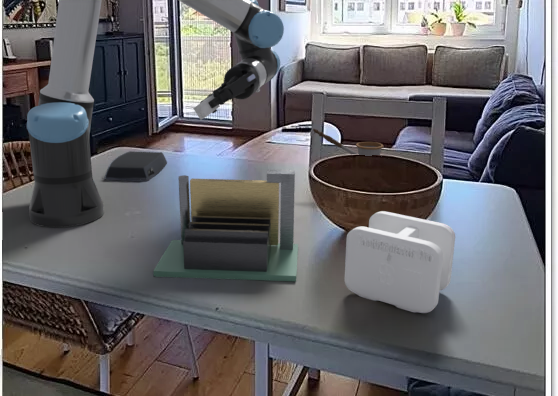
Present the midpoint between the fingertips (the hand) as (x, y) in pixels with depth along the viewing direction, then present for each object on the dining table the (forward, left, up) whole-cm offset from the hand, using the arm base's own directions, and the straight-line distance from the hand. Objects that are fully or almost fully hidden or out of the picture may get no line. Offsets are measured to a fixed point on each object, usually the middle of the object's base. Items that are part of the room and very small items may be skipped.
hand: (199, 112), depth 117 cm
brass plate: (+5, -14, -22) cm, 27 cm away
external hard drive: (-14, +46, -24) cm, 54 cm away
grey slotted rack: (+4, -19, -24) cm, 31 cm away
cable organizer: (+28, -37, -24) cm, 52 cm away
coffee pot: (+37, +16, -24) cm, 47 cm away
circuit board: (+3, -20, -24) cm, 31 cm away
